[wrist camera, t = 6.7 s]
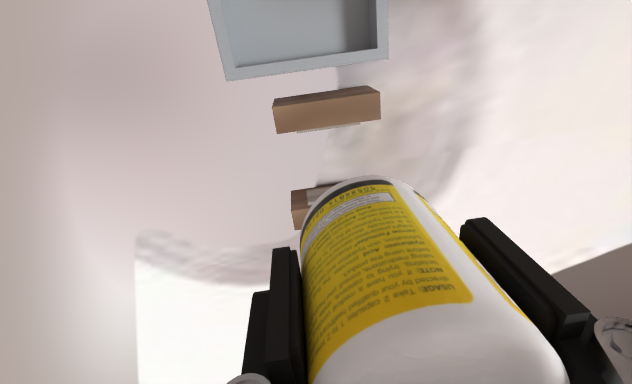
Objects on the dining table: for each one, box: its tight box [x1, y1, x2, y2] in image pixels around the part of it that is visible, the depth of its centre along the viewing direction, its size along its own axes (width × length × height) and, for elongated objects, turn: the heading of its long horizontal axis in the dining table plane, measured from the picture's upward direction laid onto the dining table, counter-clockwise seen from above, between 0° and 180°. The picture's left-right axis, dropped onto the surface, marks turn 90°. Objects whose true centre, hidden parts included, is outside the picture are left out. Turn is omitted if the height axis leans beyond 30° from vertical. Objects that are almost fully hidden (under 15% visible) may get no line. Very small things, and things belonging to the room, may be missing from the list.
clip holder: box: [272, 86, 381, 230], centre depth 26 cm, size 11×8×4 cm
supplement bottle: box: [300, 175, 570, 384], centre depth 8 cm, size 5×5×10 cm
